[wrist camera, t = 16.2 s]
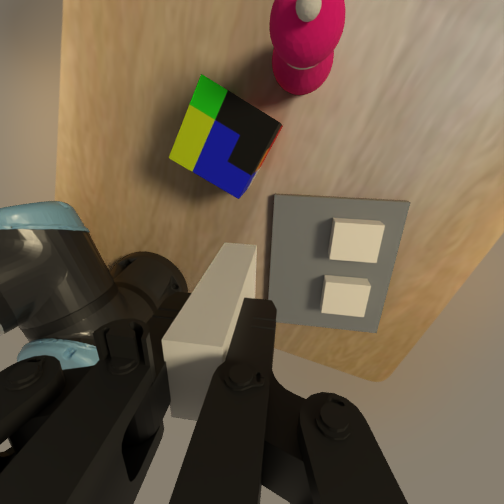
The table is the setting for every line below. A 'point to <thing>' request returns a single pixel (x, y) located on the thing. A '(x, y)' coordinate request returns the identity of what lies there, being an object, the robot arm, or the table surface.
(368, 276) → the slate board
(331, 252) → the tile
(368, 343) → the table surface
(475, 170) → the table surface
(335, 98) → the table surface
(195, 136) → the puzzle toy
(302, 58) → the pepper mill
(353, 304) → the tile
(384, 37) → the table surface
